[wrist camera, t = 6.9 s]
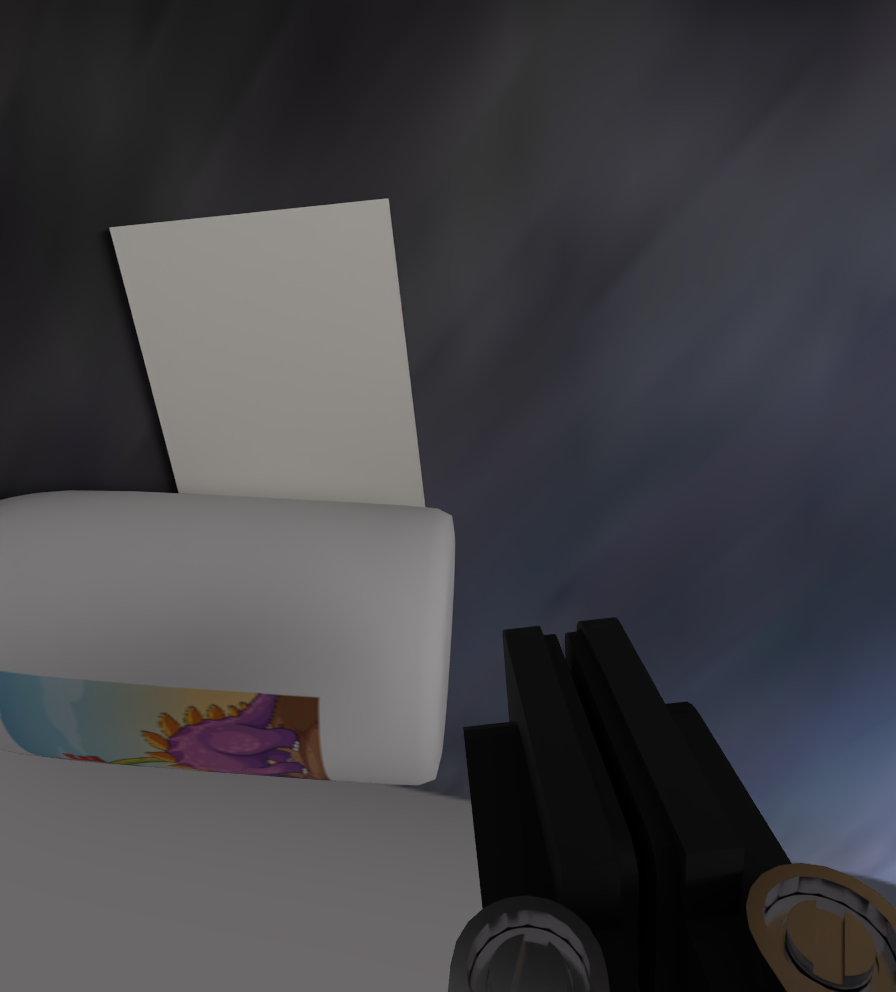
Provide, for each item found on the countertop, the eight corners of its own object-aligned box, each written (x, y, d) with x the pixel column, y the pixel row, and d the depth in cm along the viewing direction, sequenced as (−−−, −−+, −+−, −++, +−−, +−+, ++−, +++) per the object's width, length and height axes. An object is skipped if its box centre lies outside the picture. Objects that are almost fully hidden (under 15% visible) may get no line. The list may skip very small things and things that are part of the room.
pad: (388, 199, 19) (388, 198, 19) (441, 637, 25) (441, 642, 24) (115, 228, 19) (109, 227, 19) (227, 660, 24) (224, 667, 24)
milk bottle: (459, 523, 23) (-86, 492, 24) (455, 488, 16) (-343, 445, 16) (446, 750, 22) (-125, 710, 23) (435, 833, 15) (-420, 768, 15)
